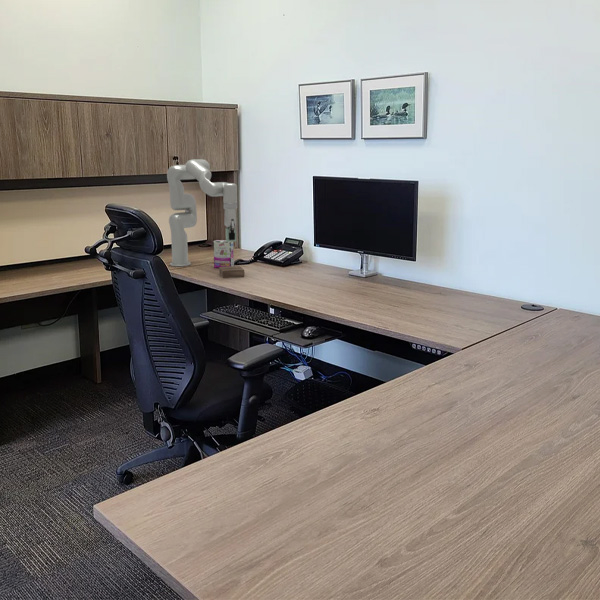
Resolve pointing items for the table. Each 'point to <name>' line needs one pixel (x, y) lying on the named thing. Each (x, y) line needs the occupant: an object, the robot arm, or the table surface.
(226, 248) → the candy bar box
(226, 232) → the sage block
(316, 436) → the table surface
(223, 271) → the walnut block
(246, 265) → the table surface
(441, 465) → the table surface
